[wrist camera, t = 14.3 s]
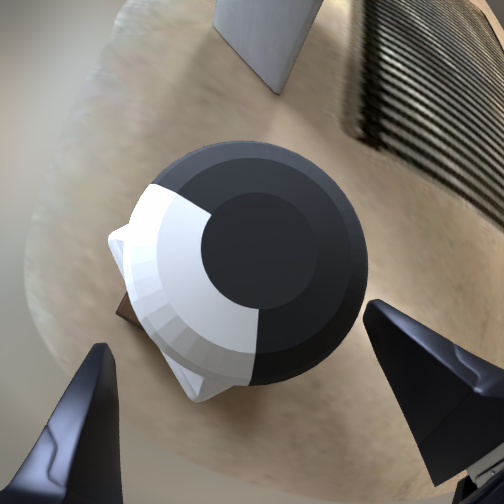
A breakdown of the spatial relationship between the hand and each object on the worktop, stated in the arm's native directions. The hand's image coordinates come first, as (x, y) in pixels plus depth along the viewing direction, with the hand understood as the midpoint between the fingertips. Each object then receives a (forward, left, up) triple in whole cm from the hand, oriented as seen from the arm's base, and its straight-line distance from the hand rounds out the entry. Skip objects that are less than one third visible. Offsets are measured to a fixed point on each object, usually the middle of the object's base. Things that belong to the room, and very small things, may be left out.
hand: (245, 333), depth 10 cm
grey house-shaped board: (+25, +10, -10) cm, 29 cm away
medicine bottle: (+2, +1, -8) cm, 9 cm away
